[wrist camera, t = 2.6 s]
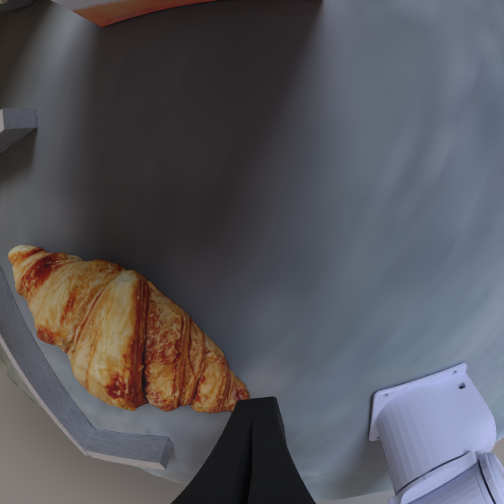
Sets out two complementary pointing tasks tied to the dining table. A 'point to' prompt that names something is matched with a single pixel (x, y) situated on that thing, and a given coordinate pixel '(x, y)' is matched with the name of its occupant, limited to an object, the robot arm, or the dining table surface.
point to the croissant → (123, 334)
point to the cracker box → (119, 8)
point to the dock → (40, 373)
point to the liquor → (14, 4)
